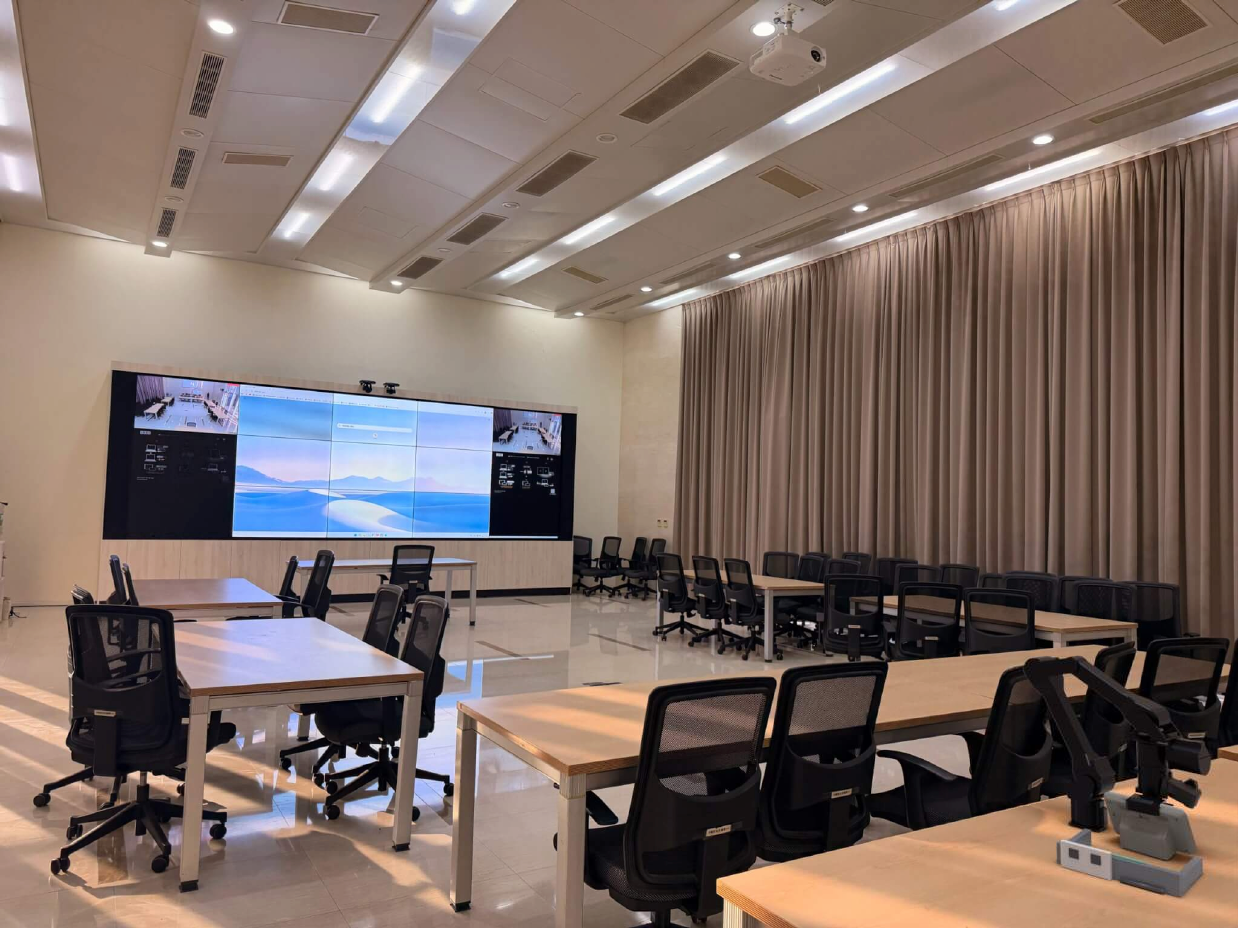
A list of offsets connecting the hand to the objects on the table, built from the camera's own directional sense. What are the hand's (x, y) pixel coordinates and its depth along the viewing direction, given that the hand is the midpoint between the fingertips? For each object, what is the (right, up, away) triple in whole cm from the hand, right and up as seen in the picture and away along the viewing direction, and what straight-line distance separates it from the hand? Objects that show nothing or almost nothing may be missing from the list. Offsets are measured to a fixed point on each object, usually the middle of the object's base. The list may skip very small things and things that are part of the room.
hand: (1155, 837), depth 181 cm
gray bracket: (-14, 0, -13) cm, 19 cm away
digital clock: (-2, -1, -3) cm, 4 cm away
